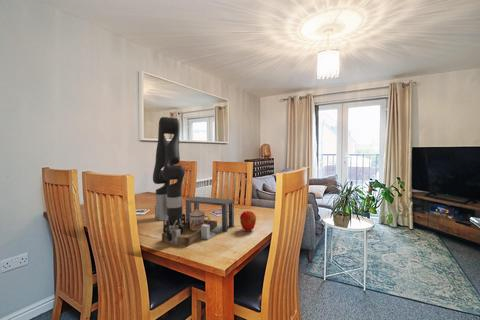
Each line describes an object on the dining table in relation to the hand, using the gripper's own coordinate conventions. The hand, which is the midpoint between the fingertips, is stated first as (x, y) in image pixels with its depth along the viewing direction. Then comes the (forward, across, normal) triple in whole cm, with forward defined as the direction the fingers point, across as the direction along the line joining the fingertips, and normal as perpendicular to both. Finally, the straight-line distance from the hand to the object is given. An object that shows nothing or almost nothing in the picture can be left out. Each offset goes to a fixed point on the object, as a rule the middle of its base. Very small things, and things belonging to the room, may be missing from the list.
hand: (175, 237), depth 117 cm
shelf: (+3, -30, +2) cm, 30 cm away
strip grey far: (+3, -26, +10) cm, 28 cm away
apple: (+3, -31, +27) cm, 41 cm away
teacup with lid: (+3, -24, -1) cm, 24 cm away
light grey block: (+3, -14, +10) cm, 18 cm away
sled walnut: (+3, -14, 0) cm, 14 cm away
